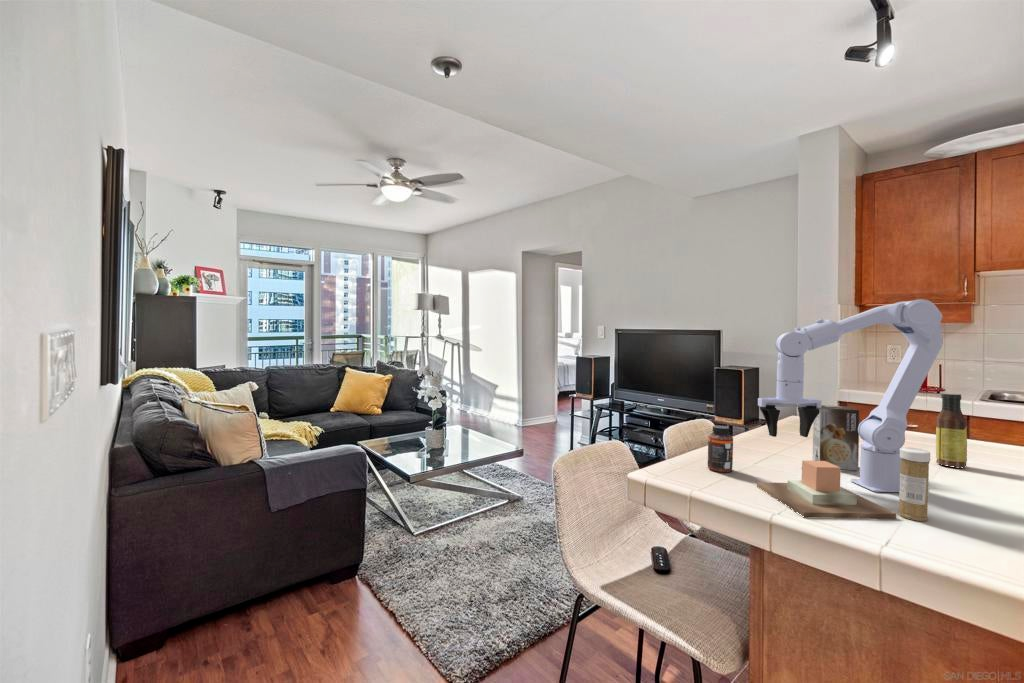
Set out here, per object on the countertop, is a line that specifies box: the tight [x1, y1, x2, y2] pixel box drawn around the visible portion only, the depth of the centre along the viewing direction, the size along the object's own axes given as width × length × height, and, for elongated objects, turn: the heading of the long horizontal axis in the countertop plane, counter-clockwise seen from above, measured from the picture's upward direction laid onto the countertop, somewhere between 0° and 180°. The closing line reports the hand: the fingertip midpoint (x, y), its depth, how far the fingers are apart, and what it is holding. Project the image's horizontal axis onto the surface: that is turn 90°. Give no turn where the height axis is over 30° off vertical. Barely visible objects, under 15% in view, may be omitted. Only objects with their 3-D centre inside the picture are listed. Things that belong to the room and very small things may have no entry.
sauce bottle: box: [935, 392, 968, 468], centre depth 130 cm, size 7×6×20 cm
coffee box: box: [811, 404, 860, 471], centre depth 129 cm, size 9×6×16 cm
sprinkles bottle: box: [897, 446, 931, 522], centre depth 94 cm, size 5×5×14 cm
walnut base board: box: [756, 479, 897, 520], centre depth 102 cm, size 18×18×3 cm
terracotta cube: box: [801, 460, 842, 491], centre depth 102 cm, size 5×5×5 cm
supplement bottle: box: [707, 424, 734, 473], centre depth 124 cm, size 6×6×11 cm
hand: (788, 436), depth 118 cm, fingers open, 7 cm apart
